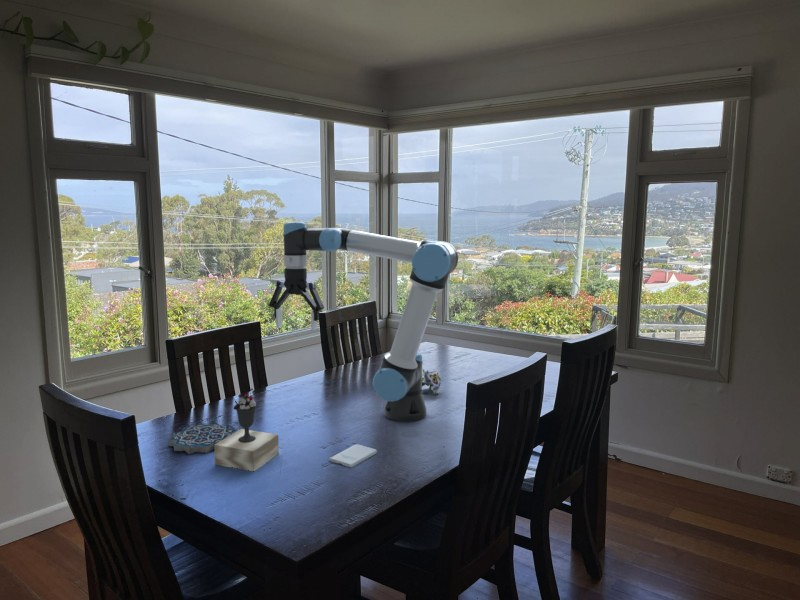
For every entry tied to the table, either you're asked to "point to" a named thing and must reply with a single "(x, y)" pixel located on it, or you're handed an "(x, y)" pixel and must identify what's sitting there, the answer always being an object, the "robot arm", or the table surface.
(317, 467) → the table surface
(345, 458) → the external hard drive
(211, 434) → the decorative tile
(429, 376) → the passion flower
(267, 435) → the block
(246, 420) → the sundae
